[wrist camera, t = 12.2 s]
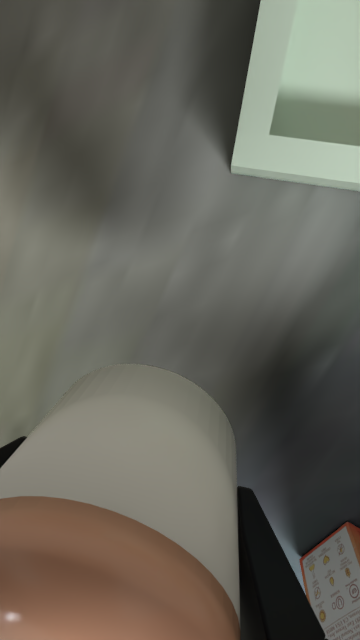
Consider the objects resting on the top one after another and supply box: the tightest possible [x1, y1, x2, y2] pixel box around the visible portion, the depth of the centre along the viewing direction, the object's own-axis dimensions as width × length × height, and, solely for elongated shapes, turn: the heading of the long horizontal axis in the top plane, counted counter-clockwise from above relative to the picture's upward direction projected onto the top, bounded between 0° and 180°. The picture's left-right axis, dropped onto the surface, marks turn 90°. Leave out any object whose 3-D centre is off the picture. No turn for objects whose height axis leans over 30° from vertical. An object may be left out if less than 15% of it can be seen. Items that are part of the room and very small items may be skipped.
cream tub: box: [0, 364, 241, 640], centre depth 8 cm, size 6×6×5 cm
